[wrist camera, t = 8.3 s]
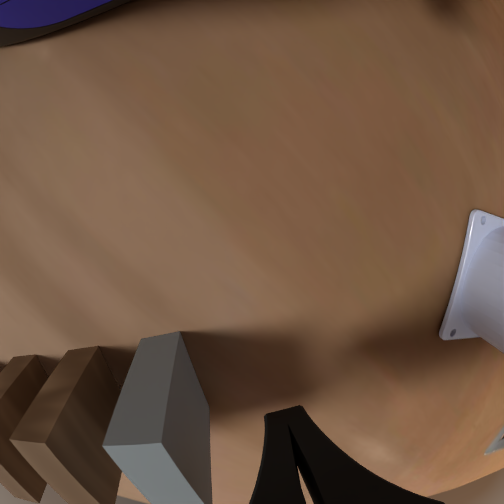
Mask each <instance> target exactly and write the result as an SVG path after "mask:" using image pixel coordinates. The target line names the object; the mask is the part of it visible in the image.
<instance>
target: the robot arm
mask: <svg viewBox="0 0 504 504" xmlns="http://www.w3.org/2000/svg"><path fill="white" fill-rule="evenodd" d="M439 337H440V338H441V339H443V340H453V339H465V338H475V337H481V338H483V339H484V340H485V341H487V342H488V343H490V344H491V345H493V346H494V347H495V348H497V349H498V350H500V351H501V352H502V353H504V219H503V218H500V217H497V216H495V215H492V214H489V213H486V212H484V211H481V210H477V209H474V210H472V212H471V213H470V217H469V223H468V228H467V233H466V238H465V243H464V248H463V252H462V256H461V261H460V265H459V269H458V273H457V276H456V280H455V284H454V287H453V291H452V294H451V298H450V301H449V304H448V307H447V310H446V313H445V317H444V319H443V322H442V325H441V328H440V331H439ZM264 421H265V436H264V446H263V453H262V460H261V465H260V469H259V473H258V477H257V481H256V485H255V488H254V491H253V494H252V497H251V500H250V502H249V504H306V501H305V498H304V495H303V492H302V489H301V484H300V479H299V473H298V468H299V471H300V473H301V475H302V478H303V480H304V482H305V485H306V487H307V489H308V491H309V494H310V496H311V498H312V500H313V503H314V504H445V503H444V502H441V501H437V500H434V499H430V498H427V497H424V496H421V495H418V494H415V493H413V492H410V491H408V490H405V489H403V488H401V487H399V486H397V485H395V484H393V483H390V482H388V481H386V480H385V479H383V478H381V477H379V476H377V475H376V474H374V473H372V472H371V471H369V470H368V469H366V468H365V467H363V466H362V465H360V464H359V463H357V462H356V461H355V460H353V459H352V458H351V457H349V456H348V455H347V454H346V453H345V452H343V451H342V450H341V449H340V448H339V447H338V446H336V445H335V444H334V443H333V442H332V441H331V440H330V439H329V438H328V437H327V436H326V435H325V434H324V433H323V432H322V431H321V430H320V429H319V427H318V426H317V425H316V424H315V423H314V422H313V420H312V419H311V418H310V417H309V415H308V414H307V412H306V411H305V410H304V408H303V406H300V405H298V406H295V407H291V408H287V409H283V410H280V411H276V412H271V413H267V414H266V415H265V416H264ZM297 466H298V468H297Z"/></svg>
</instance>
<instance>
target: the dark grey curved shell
mask: <svg viewBox="0 0 504 504" xmlns="http://www.w3.org/2000/svg"><path fill="white" fill-rule="evenodd" d="M129 1H131V0H0V46H5V45H10V44H15V43H19V42H23V41H26V40H29V39H33V38H36V37H39V36H42V35H45V34H48V33H51V32H54V31H57V30H59V29H62V28H65V27H68V26H70V25H73V24H76V23H78V22H81V21H83V20H86V19H88V18H91V17H93V16H96V15H98V14H100V13H103V12H105V11H108V10H110V9H112V8H115V7H117V6H120V5H122V4H124V3H127V2H129Z"/></svg>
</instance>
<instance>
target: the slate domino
mask: <svg viewBox="0 0 504 504" xmlns="http://www.w3.org/2000/svg"><path fill="white" fill-rule="evenodd" d="M102 446H103V448H104V449H105V450H106V452H107V453H108V454H109V455H110V457H111V458H112V459H113V461H114V462H115V463H116V464H117V466H118V467H119V468H120V469H121V470H122V472H123V473H124V474H125V475H126V476H127V477H128V479H129V480H130V481H131V482H132V483H133V484H134V485H135V487H136V488H137V489H138V490H139V491H140V492H141V493H142V494H143V495H144V496H145V497H146V498H147V500H148V501H149V502H150V503H151V504H212V484H211V457H210V412H209V405H208V403H207V400H206V398H205V395H204V393H203V391H202V388H201V386H200V383H199V381H198V378H197V376H196V373H195V370H194V368H193V365H192V363H191V360H190V357H189V355H188V352H187V349H186V347H185V344H184V341H183V338H182V336H181V333H180V331H178V332H174V333H169V334H164V335H159V336H154V337H148V338H143V339H141V341H140V343H139V346H138V348H137V351H136V353H135V356H134V358H133V361H132V364H131V366H130V369H129V371H128V374H127V377H126V379H125V382H124V385H123V387H122V390H121V393H120V396H119V398H118V401H117V404H116V407H115V409H114V412H113V415H112V418H111V421H110V424H109V427H108V430H107V433H106V436H105V439H104V442H103V445H102Z"/></svg>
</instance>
